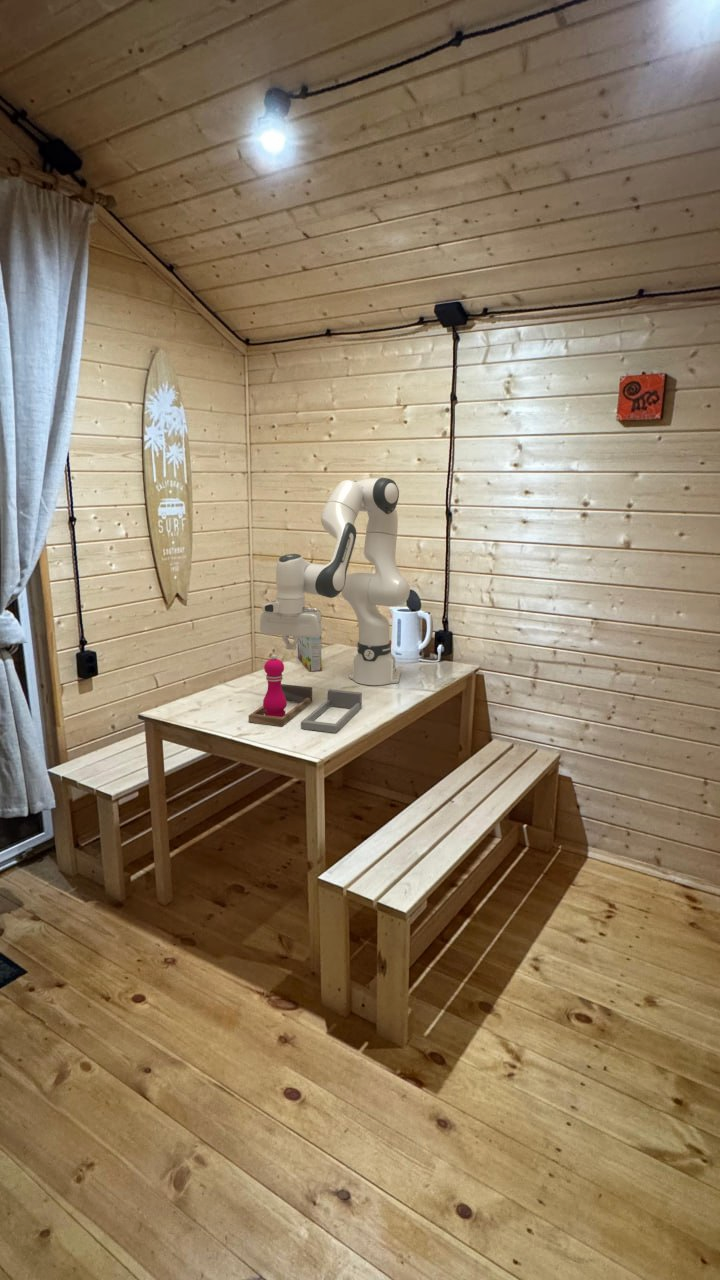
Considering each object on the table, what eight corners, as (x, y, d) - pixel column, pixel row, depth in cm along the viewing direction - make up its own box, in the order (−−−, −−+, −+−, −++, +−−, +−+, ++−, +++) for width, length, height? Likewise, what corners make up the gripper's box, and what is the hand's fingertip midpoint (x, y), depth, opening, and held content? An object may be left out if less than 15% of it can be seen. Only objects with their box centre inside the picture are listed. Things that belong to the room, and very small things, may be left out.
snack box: (296, 658, 282) (295, 622, 278) (309, 657, 284) (309, 621, 280) (308, 672, 262) (308, 633, 259) (322, 671, 264) (322, 632, 260)
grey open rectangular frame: (329, 703, 225) (329, 689, 224) (361, 707, 222) (361, 692, 221) (300, 728, 203) (300, 712, 202) (336, 732, 200) (336, 716, 199)
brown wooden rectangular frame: (281, 698, 230) (281, 684, 229) (312, 701, 227) (312, 687, 226) (248, 721, 208) (248, 706, 207) (282, 726, 205) (281, 710, 204)
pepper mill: (287, 713, 217) (286, 651, 212) (286, 721, 210) (285, 657, 205) (264, 713, 216) (263, 651, 212) (262, 721, 209) (260, 657, 205)
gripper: (325, 606, 217) (325, 649, 220) (265, 602, 223) (266, 644, 227) (317, 610, 211) (317, 654, 215) (257, 606, 218) (258, 648, 221)
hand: (291, 649), depth 221 cm, fingers closed
